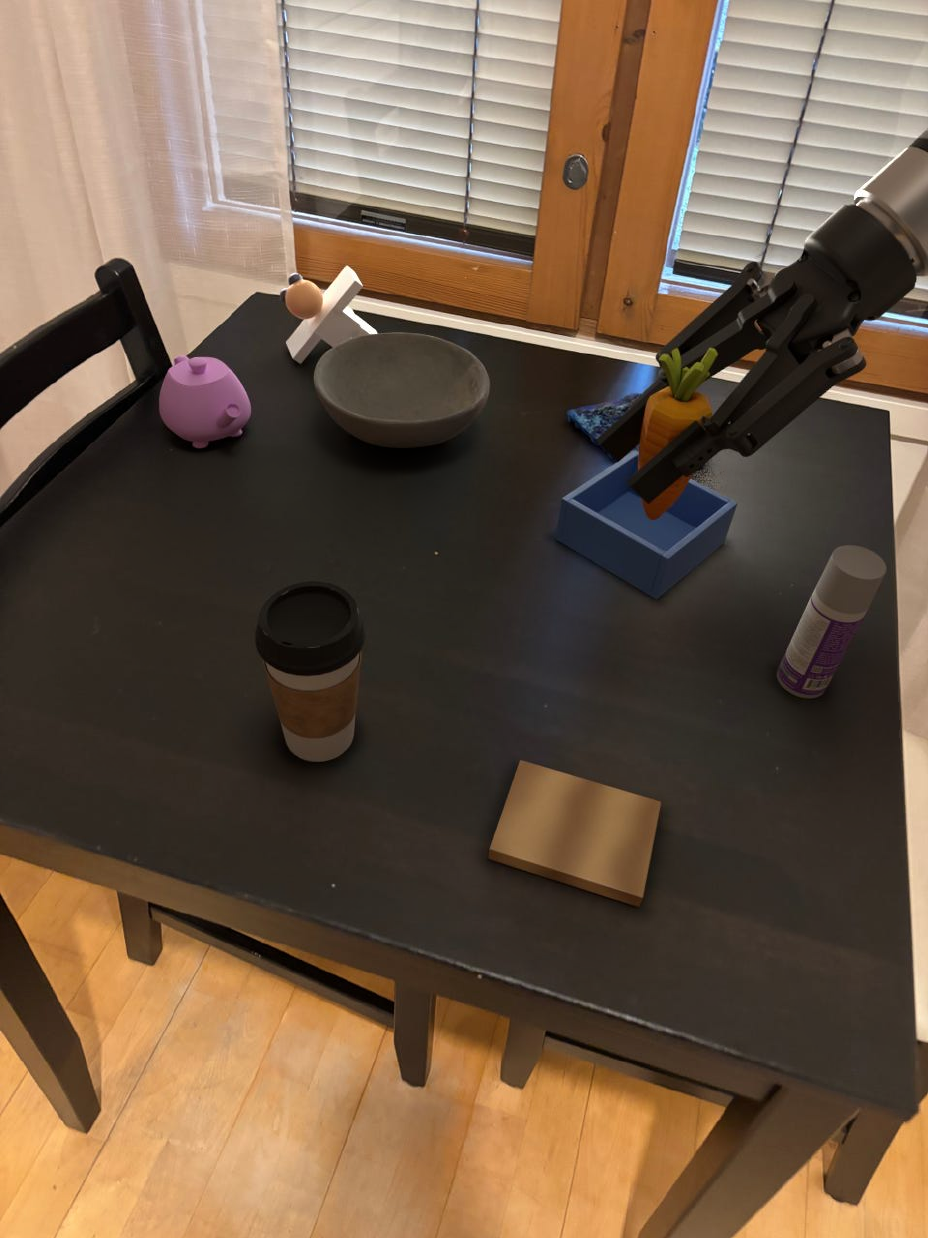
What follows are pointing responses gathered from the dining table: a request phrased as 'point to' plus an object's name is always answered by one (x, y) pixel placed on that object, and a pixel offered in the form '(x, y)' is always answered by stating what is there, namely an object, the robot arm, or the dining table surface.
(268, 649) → the coffee cup
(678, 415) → the carrot
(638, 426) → the robot arm
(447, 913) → the dining table surface
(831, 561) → the container
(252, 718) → the dining table surface
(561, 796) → the board
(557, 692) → the dining table surface
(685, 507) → the bin
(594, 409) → the blue flat piece
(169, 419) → the teapot
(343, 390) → the bowl
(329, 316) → the figurine
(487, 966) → the dining table surface
